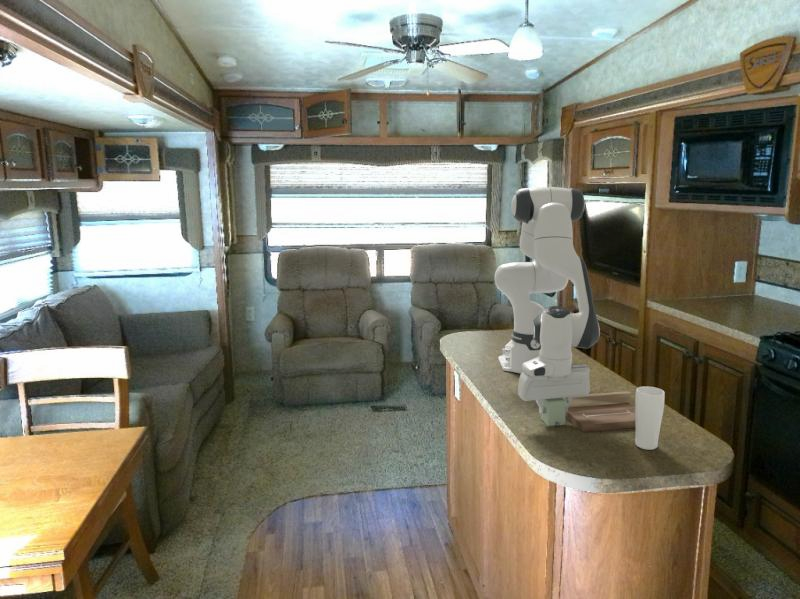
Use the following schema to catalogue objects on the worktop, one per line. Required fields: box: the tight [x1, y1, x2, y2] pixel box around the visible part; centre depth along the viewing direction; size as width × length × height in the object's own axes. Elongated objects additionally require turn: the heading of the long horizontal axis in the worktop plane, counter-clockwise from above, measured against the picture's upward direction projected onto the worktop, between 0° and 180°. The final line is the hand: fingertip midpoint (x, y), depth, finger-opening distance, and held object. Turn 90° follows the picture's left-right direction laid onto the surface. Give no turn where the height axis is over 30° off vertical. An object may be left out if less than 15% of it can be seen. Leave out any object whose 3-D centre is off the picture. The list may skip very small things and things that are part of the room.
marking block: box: [540, 398, 566, 427], centre depth 165 cm, size 6×5×7 cm
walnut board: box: [563, 390, 635, 433], centre depth 167 cm, size 14×21×5 cm, turn 100°
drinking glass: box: [634, 385, 666, 451], centre depth 149 cm, size 7×7×15 cm
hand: (553, 412), depth 165 cm, fingers closed on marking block, 5 cm apart
